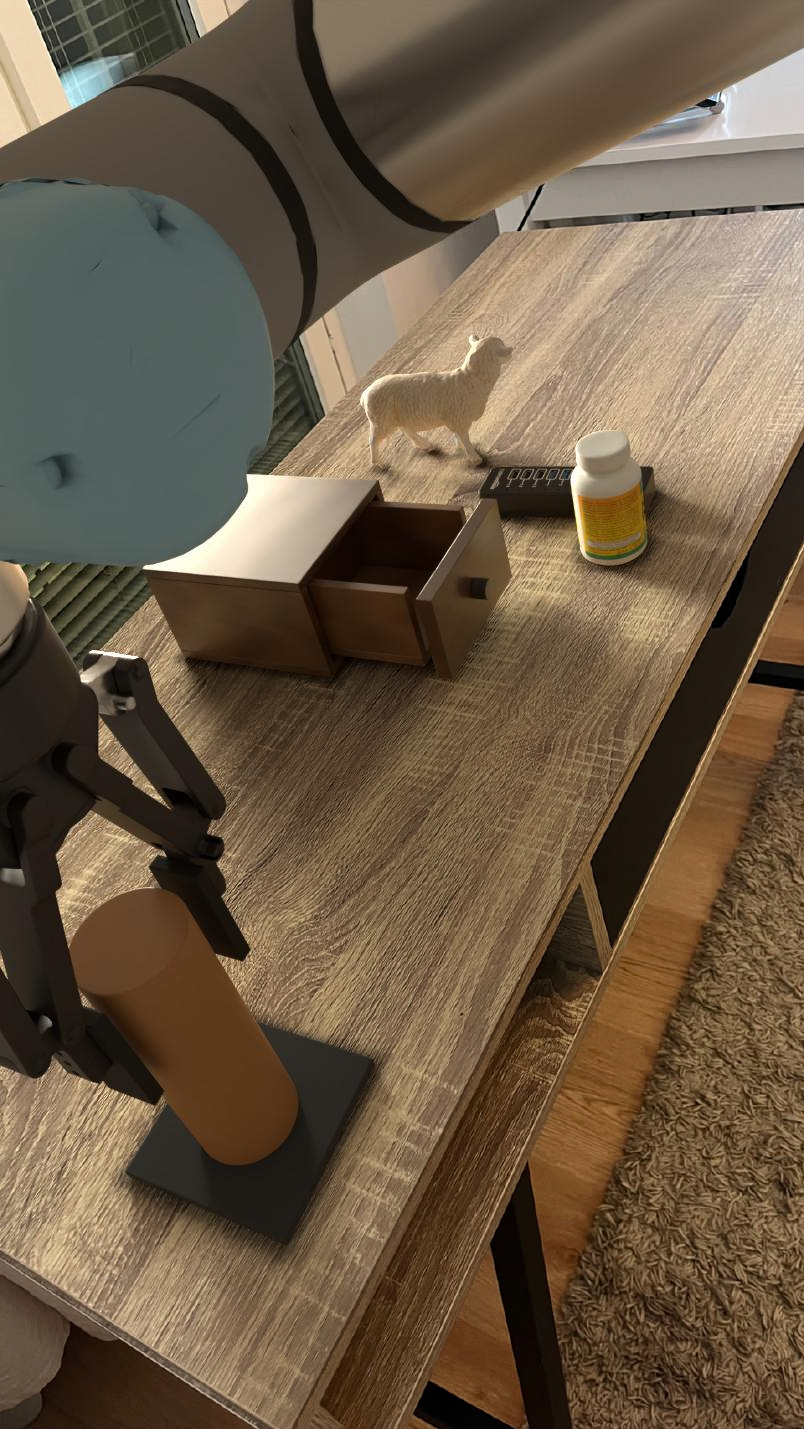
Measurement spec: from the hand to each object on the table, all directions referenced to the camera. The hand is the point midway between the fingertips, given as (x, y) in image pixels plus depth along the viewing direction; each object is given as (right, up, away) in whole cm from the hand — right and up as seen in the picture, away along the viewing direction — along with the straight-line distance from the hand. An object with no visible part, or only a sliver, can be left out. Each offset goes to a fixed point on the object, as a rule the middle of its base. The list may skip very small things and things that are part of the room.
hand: (182, 1015), depth 50 cm
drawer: (+11, +22, +34) cm, 42 cm away
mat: (+2, -7, +7) cm, 10 cm away
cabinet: (+1, +23, +40) cm, 46 cm away
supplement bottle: (+27, +27, +36) cm, 53 cm away
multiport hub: (+25, +32, +43) cm, 59 cm away
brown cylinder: (+2, -7, +7) cm, 10 cm away
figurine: (+15, +39, +53) cm, 68 cm away
